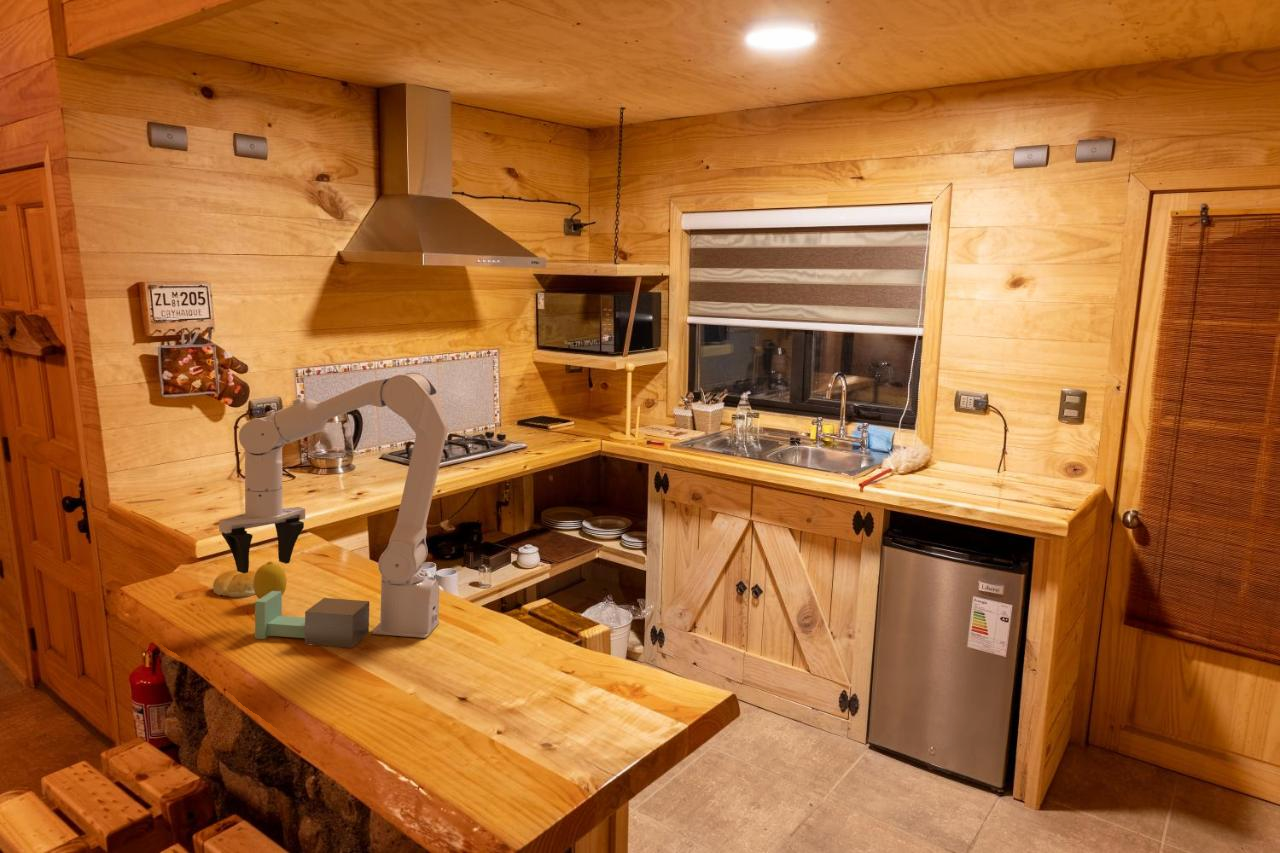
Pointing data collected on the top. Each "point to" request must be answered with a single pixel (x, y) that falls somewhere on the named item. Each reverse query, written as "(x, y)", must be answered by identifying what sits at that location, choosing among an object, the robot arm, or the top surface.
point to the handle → (276, 619)
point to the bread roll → (234, 584)
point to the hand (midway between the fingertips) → (263, 566)
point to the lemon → (269, 579)
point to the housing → (337, 622)
